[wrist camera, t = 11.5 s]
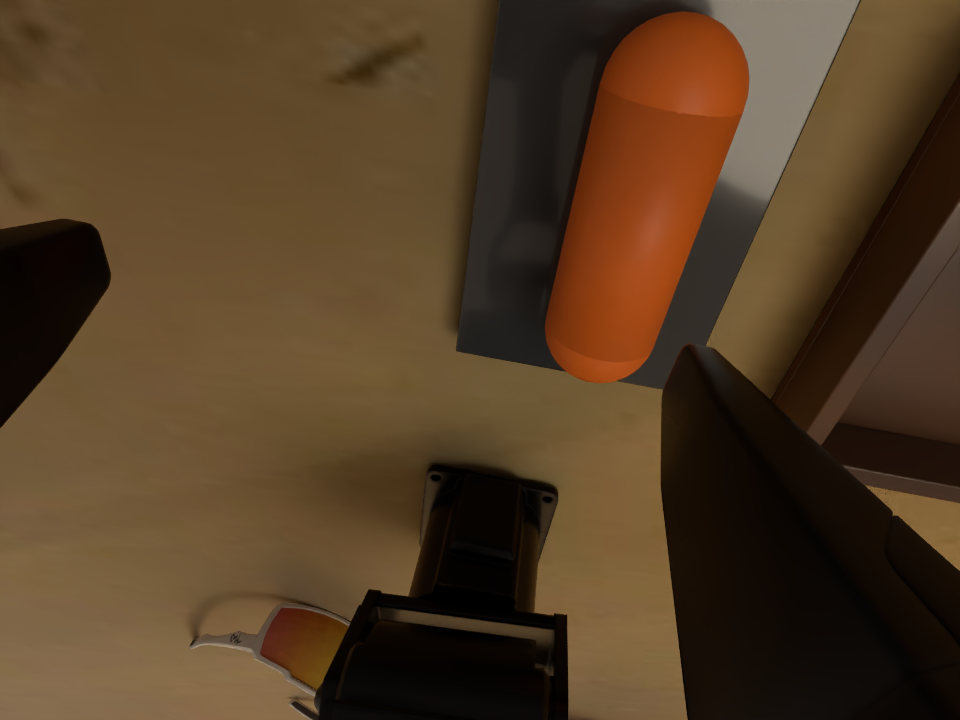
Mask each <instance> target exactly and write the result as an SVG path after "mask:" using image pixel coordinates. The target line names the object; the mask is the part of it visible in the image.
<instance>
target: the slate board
mask: <svg viewBox="0 0 960 720" xmlns="http://www.w3.org/2000/svg"><path fill="white" fill-rule="evenodd" d="M860 2H861V0H499V2H498V10H497V18H496V26H495V35H494V43H493V51H492V59H491V67H490V75H489V84H488V92H487V100H486V108H485V116H484V124H483V133H482V141H481V149H480V157H479V165H478V173H477V181H476V190H475V198H474V206H473V214H472V222H471V230H470V239H469V247H468V255H467V263H466V271H465V279H464V288H463V296H462V304H461V312H460V320H459V328H458V337H457V345H456V351H457V352H463V353H468V354H474V355H479V356H484V357H490V358H495V359H501V360H506V361H511V362H517V363H522V364H528V365H533V366H538V367H544V368H549V369H555V370H560V371H565V370H564V369H563V368H562V367H561V366H560V365H559V364H558V363H557V362H556V360H555V359H554V357H553V356H552V354H551V352H550V349H549V347H548V344H547V342H546V334H545V322H546V315H547V311H548V307H549V302H550V298H551V294H552V289H553V285H554V280H555V276H556V272H557V267H558V263H559V259H560V254H561V250H562V246H563V241H564V237H565V233H566V228H567V224H568V220H569V215H570V211H571V207H572V202H573V198H574V194H575V189H576V185H577V181H578V176H579V172H580V167H581V163H582V159H583V154H584V150H585V146H586V141H587V137H588V133H589V128H590V124H591V120H592V115H593V111H594V107H595V102H596V98H597V94H598V89H599V85H600V81H601V79H602V75H603V72H604V69H605V67H606V65H607V63H608V61H609V59H610V57H611V55H612V53H613V52H614V50H615V49H616V48H617V46H618V45H619V44H620V43H621V41H622V40H623V39H624V38H625V37H626V36H627V35H628V34H629V33H631V32H632V31H633V30H634V29H635V28H636V27H638V26H640V25H641V24H643V23H645V22H646V21H648V20H650V19H652V18H655V17H658V16H661V15H663V14H667V13H673V12H680V11H685V12H695V13H699V14H703V15H707V16H710V17H712V18H713V19H715V20H717V21H719V22H720V23H722V24H724V25H725V26H726V27H727V28H728V29H729V30H730V31H731V32H732V33H733V34H734V35H735V37H736V39H737V40H738V42H739V43H740V45H741V46H742V48H743V51H744V54H745V56H746V59H747V62H748V69H749V77H750V80H749V92H748V97H747V101H746V105H745V108H744V112H743V114H742V117H741V120H740V122H739V125H738V127H737V130H736V133H735V135H734V138H733V141H732V143H731V146H730V148H729V151H728V154H727V156H726V159H725V162H724V164H723V167H722V169H721V172H720V175H719V177H718V180H717V183H716V185H715V188H714V190H713V193H712V196H711V198H710V201H709V204H708V206H707V209H706V211H705V214H704V217H703V219H702V222H701V224H700V227H699V230H698V232H697V235H696V238H695V240H694V243H693V245H692V248H691V251H690V253H689V256H688V259H687V261H686V264H685V266H684V269H683V272H682V274H681V277H680V280H679V282H678V285H677V287H676V290H675V293H674V295H673V298H672V301H671V303H670V306H669V308H668V311H667V314H666V316H665V319H664V321H663V324H662V327H661V329H660V332H659V335H658V337H657V340H656V342H655V345H654V348H653V349H652V351H651V353H650V355H649V357H648V359H647V360H646V361H645V362H644V363H643V364H642V366H641V367H640V368H639V369H638V370H636V371H635V372H633V373H632V374H630V375H629V376H627V377H625V378H623V379H620V380H617V381H619V382H625V383H630V384H636V385H641V386H646V387H652V388H657V389H664V386H665V383H666V381H667V379H668V376H669V374H670V372H671V370H672V368H673V365H674V363H675V361H676V359H677V357H678V354H679V352H680V350H681V349H682V347H683V346H684V345H686V344H688V343H691V344H697V345H702V346H705V345H706V343H707V341H708V339H709V337H710V334H711V332H712V330H713V328H714V325H715V323H716V321H717V319H718V317H719V314H720V312H721V310H722V308H723V306H724V303H725V301H726V299H727V297H728V294H729V292H730V290H731V288H732V286H733V283H734V281H735V279H736V277H737V274H738V272H739V270H740V268H741V266H742V263H743V261H744V259H745V257H746V254H747V252H748V250H749V248H750V246H751V243H752V241H753V239H754V237H755V235H756V232H757V230H758V228H759V226H760V223H761V221H762V219H763V217H764V215H765V212H766V210H767V208H768V206H769V203H770V201H771V199H772V197H773V195H774V192H775V190H776V188H777V186H778V184H779V181H780V179H781V177H782V175H783V172H784V170H785V168H786V166H787V164H788V161H789V159H790V157H791V155H792V152H793V150H794V148H795V146H796V144H797V141H798V139H799V137H800V135H801V132H802V130H803V128H804V126H805V124H806V121H807V119H808V117H809V115H810V113H811V110H812V108H813V106H814V104H815V101H816V99H817V97H818V95H819V93H820V90H821V88H822V86H823V84H824V81H825V79H826V77H827V75H828V73H829V70H830V68H831V66H832V64H833V61H834V59H835V57H836V55H837V53H838V50H839V48H840V46H841V44H842V42H843V39H844V37H845V35H846V33H847V30H848V28H849V26H850V24H851V22H852V19H853V17H854V15H855V13H856V10H857V8H858V6H859V4H860ZM565 372H566V371H565Z"/></svg>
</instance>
